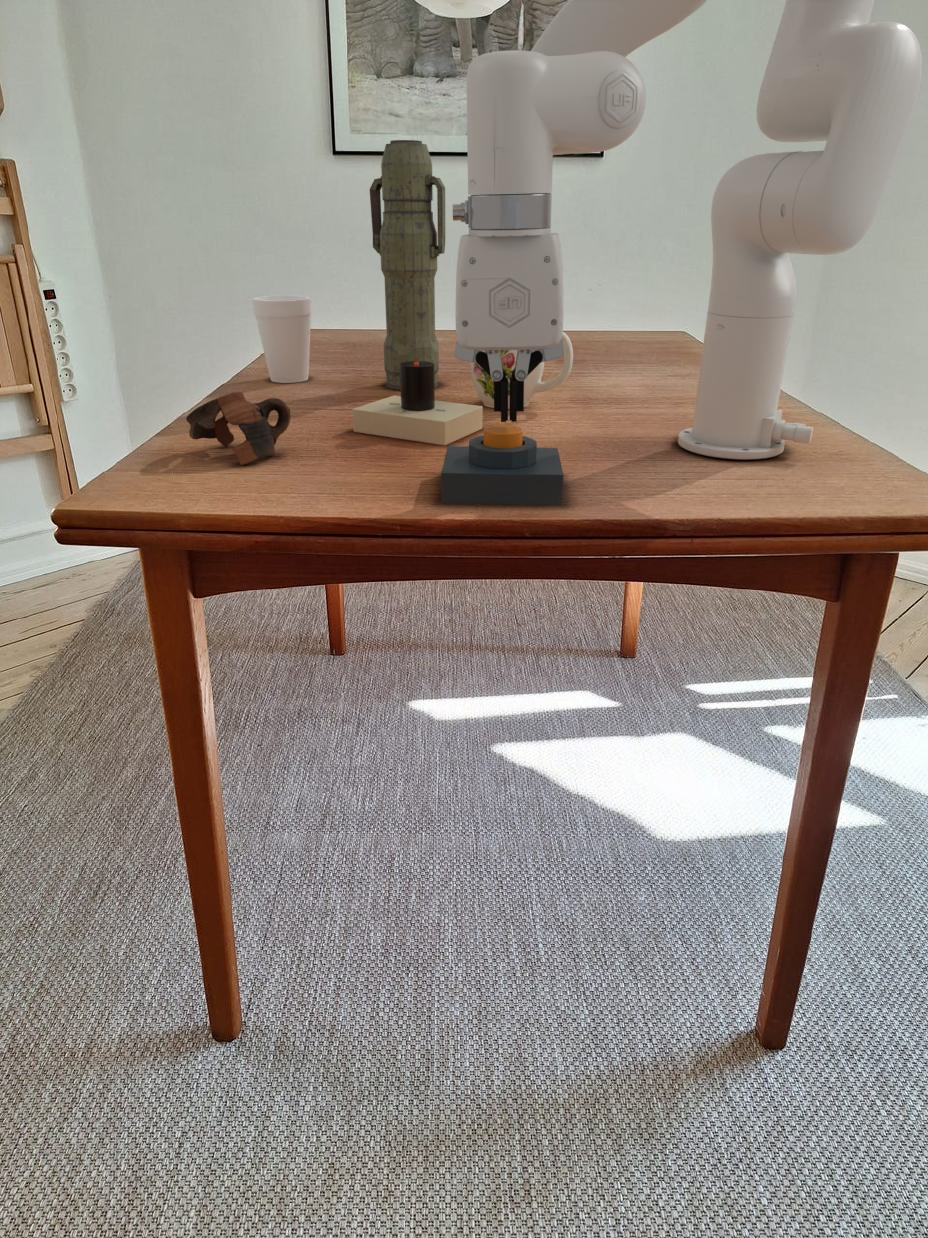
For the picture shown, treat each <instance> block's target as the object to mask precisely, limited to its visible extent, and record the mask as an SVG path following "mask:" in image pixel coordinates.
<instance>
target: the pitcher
mask: <svg viewBox="0 0 928 1238" xmlns="http://www.w3.org/2000/svg"><path fill="white" fill-rule="evenodd" d="M562 343H563V348H564V361H563V365H562V368H561V370H560V372H559V373H558V374H557V375H556V376H555V377H554V378H552V379H551V380H549V381H545V382H542V377H543V373H544V367H545V362H541V363H540V364H539V365H538V366H537V367H536V368H535V369H534V370H533V371H532V372H531V373H530V374H529V375H528V376H527V378H526V379H525V380H524V408H526V407H528V406H529V404H530V403H531V401H532V400H533V398H534V397H535V395H537V394H539V393H545V392H549V391H552V390H554V389H557V388H558V387H559V386H561V385H562V384H563V383H564V382H565V381H566V380H567V379H568V377H569V376H570V373H571V371H572V369H573V362H574V349H573V344H572V342H571V339H570V337H569V336H568V334H566V332H564V331H563V333H562ZM485 351H487V350H485ZM500 351H501V358H502V365H503V369H504V370H505V371H506V377H508V410H510V377H512V371H513V370H514V368H515V364H516V358H517V351H518V350H500ZM531 351H532V350H531ZM469 366H470V374H471V378H472V382H473V385H474V388H475V391H476V393H477V395H478V397H479V399H480V401H482V403H483V405H484V406H485V407H486V408H491V409H494V380H492V378H491V376H490V375H489V374H488V373H487V372H486V371H485V370H484V369H483V368H482V367H481V366H480V365H479V364H478V363H474V362H469Z"/></svg>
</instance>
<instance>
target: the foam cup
mask: <svg viewBox="0 0 928 1238" xmlns="http://www.w3.org/2000/svg"><path fill="white" fill-rule="evenodd" d="M251 301H252V309H253V310H252V311H253V315H255V320H256V324H257V329H258V333H259V337H260V341H261V345H262V349H263V354H264V360H265V363H266V366H267V371H268V376H269V377H270V381H271V382H273V383H278V384H279V383H281V384H293V383H302V382H306V381H307V380H309V374H310V373H309V372H310V350H311V349H310V347H311V329H312V328H311V325H312V314H313V304H312V297H310V296H307V295H294V294H293V295H289V294H286V295H285V294H283V295H282V294H281V295H280V294H279V295H263V296H258V297H257V296H256V297H255V296H254V297H253V298H252V299H251Z"/></svg>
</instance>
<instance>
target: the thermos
mask: <svg viewBox="0 0 928 1238" xmlns="http://www.w3.org/2000/svg"><path fill="white" fill-rule="evenodd" d="M380 165H381V166H380V168H381V169H380V171H381V176H380V177H378V178H374V179H373V181H372V183H371V184H370V187H369V201H370V202H369V203H370V214H371V216H370V217H371V229H372V230H371V231H372V248H373V249H374V250H375V251H376V253H377V254H379V256H380V269H381V273H382V274H383V277H384V298H385V299H384V300H385V301H384V303H385V327H386V328H385V329H386V336H385V339H384V343H383V357H384V358H383V364H384V371H385V376H386V377H385V378H386V379H385V380H386V381H385V387H386V388H387V389H391V390H395V391H401V387H400V363H403V362H408V361H427V362H432V363H434V389H436V388H438V387H439V381H438V380H439V379H438V373H439V371H440V356H439V355H440V352H439V351H440V350H439V341H438V339H437V335H436V300H435V299H436V297H435V295H436V294H435V293H436V292H435V291H436V289H435V285H436V284H435V277H436V274H437V271H438V257H440V255H442V254H445V250H446V187H445V184H444V183H443V181H442V179H441V178H440V177H436V176H435V175H433V162H432V158H431V155H430V152H429V148H428V145H427V144H426V143H423V141H422V140H415V139H397V140H396V139H395V140H393V139H392V140H390V142H389V143H385V146H384V151H383V154H382V158H381V163H380ZM433 186H435V188H436V192H437V194H436V197H437V198H436V202H437V204H436V205H437V207H436V209H437V229H436V225H435V223H434V212H433V211H432V201H433V200H434V199H433V198H434V197H433V196H434V195H433V193H434V191H433ZM381 197H382V200H381ZM382 201H383V211H382ZM382 217H383V218H382Z"/></svg>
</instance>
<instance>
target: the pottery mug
mask: <svg viewBox="0 0 928 1238" xmlns="http://www.w3.org/2000/svg"><path fill="white" fill-rule="evenodd" d="M273 411H276V413H277V420H276V423H275V425H272V424H270V422H269V416H270V413H271V412H273ZM219 413H221V414H222V416H221V417H220V418H217V416H218V415H219ZM291 417H292V414H291V409H290V408H289V406H288V405H287V402H285V401H284V400H282V399H280V398H276V397H271V398H267V399H264V400H262V401H260V402H254V403H253V402H252V401H249V400H247V399H246V397H245V395H244V393H243V392H242V391H235V392H230V393H228V394H227V393H226V394H224V395H222V396H219V397H216V398H215V399H214V398H213V399H211V400H209V401H207V402H205V403H203V404H202V405H200V406H198V407H197V408H195V409H194V410H192V411H191V412H190V413H188V415H187V416H186V418H185V419H186V422H187V423H188V424H189V426H190V429H189V434H188V435H189V437H190V438H191V439H192V440H199V439H207V440H210V439H211V440H212V439H213V440H214V439H216V440H217V442H218V443H219V444H221V445H222V446H224V447H228V446H229V445H230V444H232V443H233V442H235V441H234V440H235V435H234V434H233V433H232V432H231V430H230V428H229V425H228V424H230V425H232V426H237V427H238V428H239V430H240V431H241V432H242V434H243V435H244V437H245V440H244V441H243V442H242V443H239V444H237V445H236V446H233V447H232V452H233V454H234V455H235V456H236V459H237V461H238V463H239V465H240V466H244V465H246V464H247V465H248V464H249V463H253V462H254V461H256V460H258V459H262V458H267V457H270V456H275V455H276V449H275V445H276V444H277V440H278V439H279V437H280V436H281V435H282V434H284V433H285V431H287V429H288V427H289V425H290V422H291V419H292V418H291Z"/></svg>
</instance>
